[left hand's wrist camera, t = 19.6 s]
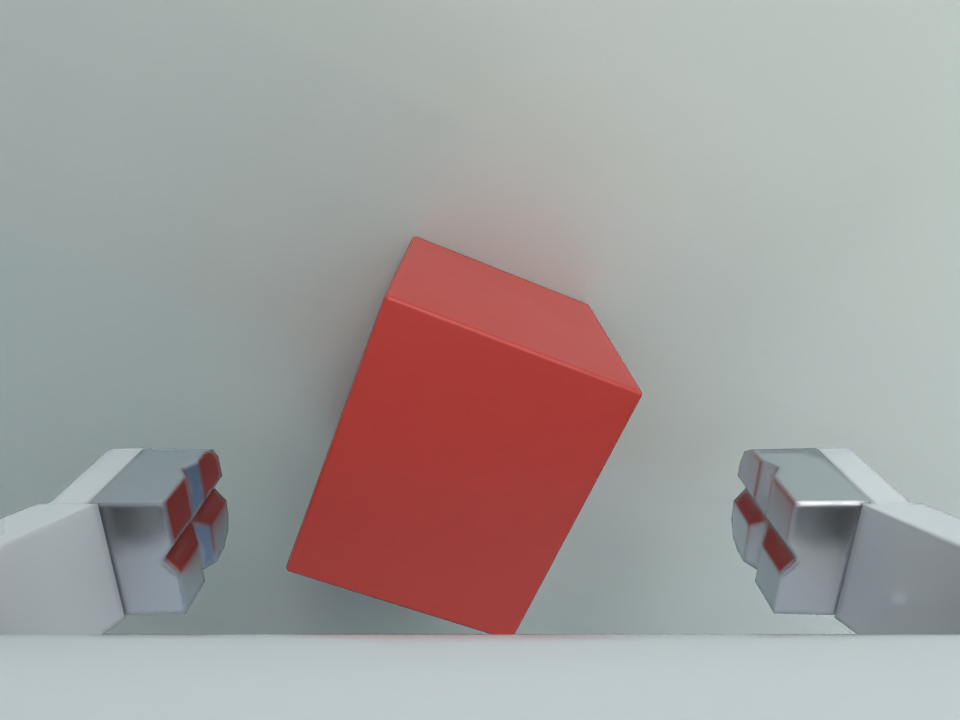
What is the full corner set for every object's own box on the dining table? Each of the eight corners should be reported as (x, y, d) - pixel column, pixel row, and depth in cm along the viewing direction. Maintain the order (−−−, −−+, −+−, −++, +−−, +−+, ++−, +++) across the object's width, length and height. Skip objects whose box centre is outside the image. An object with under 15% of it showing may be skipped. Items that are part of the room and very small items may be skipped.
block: (590, 304, 14) (644, 393, 10) (500, 492, 16) (511, 642, 11) (413, 234, 14) (385, 294, 9) (339, 436, 15) (284, 571, 11)
